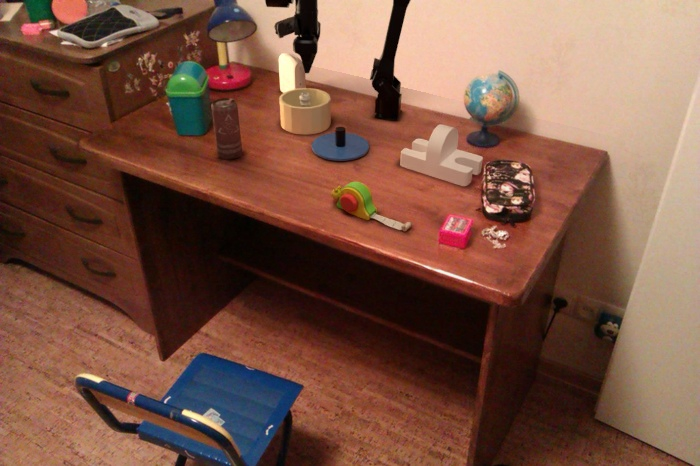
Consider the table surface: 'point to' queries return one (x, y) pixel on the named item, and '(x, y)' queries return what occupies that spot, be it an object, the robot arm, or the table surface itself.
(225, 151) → the can
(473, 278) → the table surface
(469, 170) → the grey bracket part
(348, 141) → the lid
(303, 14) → the robot arm
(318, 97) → the tin
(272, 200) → the table surface
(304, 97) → the rook chess piece
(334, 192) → the toy measuring tape
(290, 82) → the photo printer
